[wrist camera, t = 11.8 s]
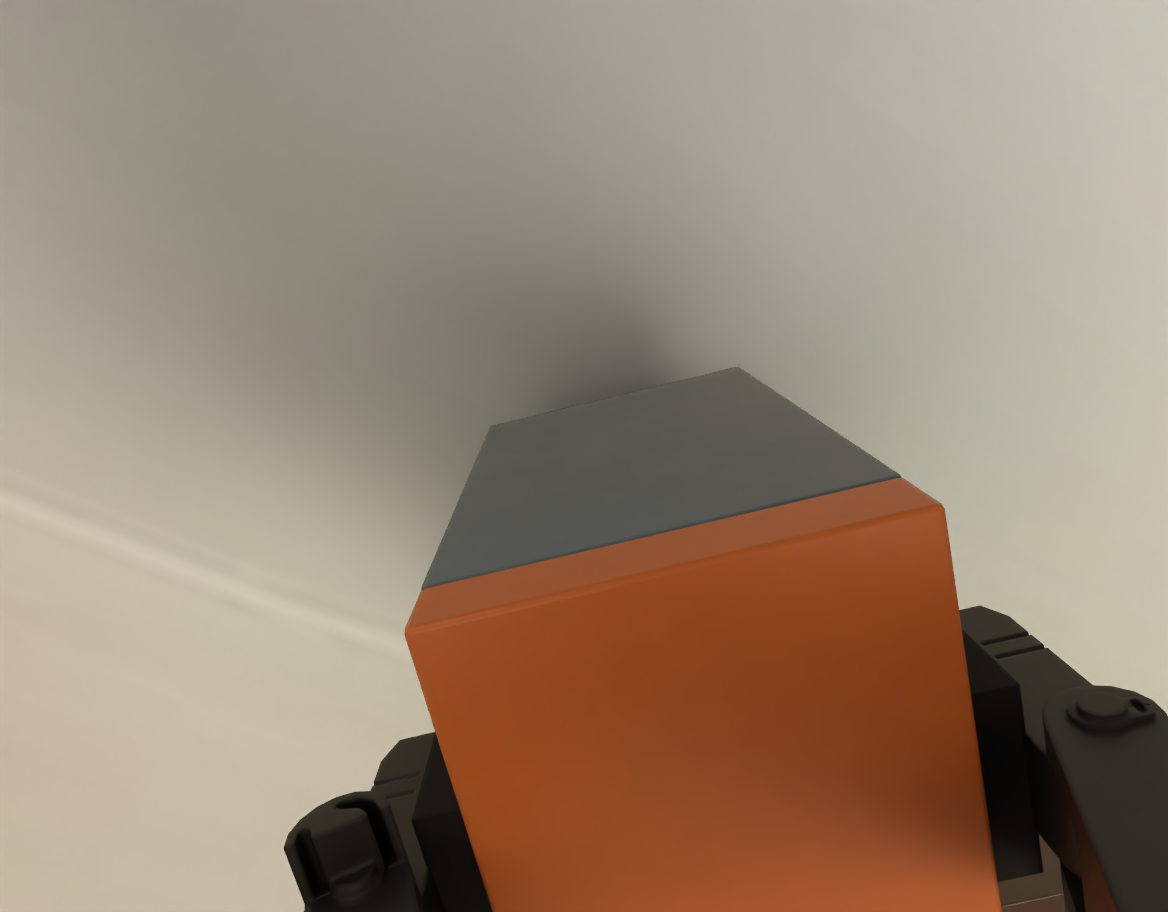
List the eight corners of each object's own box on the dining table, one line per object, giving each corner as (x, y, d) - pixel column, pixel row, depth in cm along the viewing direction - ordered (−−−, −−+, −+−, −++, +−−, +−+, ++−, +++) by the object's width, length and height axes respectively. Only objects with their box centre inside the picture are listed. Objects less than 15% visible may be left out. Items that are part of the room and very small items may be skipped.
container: (489, 425, 20) (400, 631, 9) (738, 365, 20) (946, 503, 9) (570, 720, 22) (574, 1177, 11) (797, 669, 21) (1028, 1083, 11)
